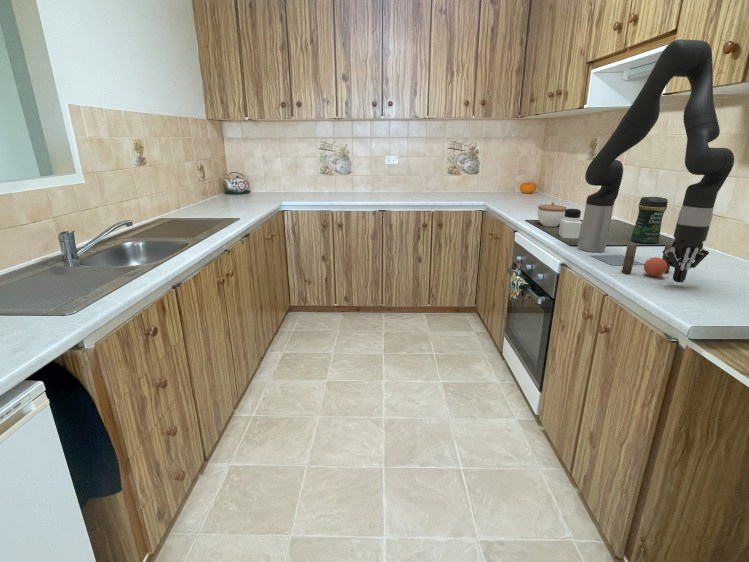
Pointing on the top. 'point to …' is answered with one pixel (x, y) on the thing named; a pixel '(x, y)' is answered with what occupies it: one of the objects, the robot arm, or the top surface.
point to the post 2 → (665, 258)
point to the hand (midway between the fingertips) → (678, 281)
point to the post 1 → (629, 259)
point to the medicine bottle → (570, 224)
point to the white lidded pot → (551, 214)
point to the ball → (655, 266)
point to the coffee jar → (649, 219)
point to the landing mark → (614, 259)
